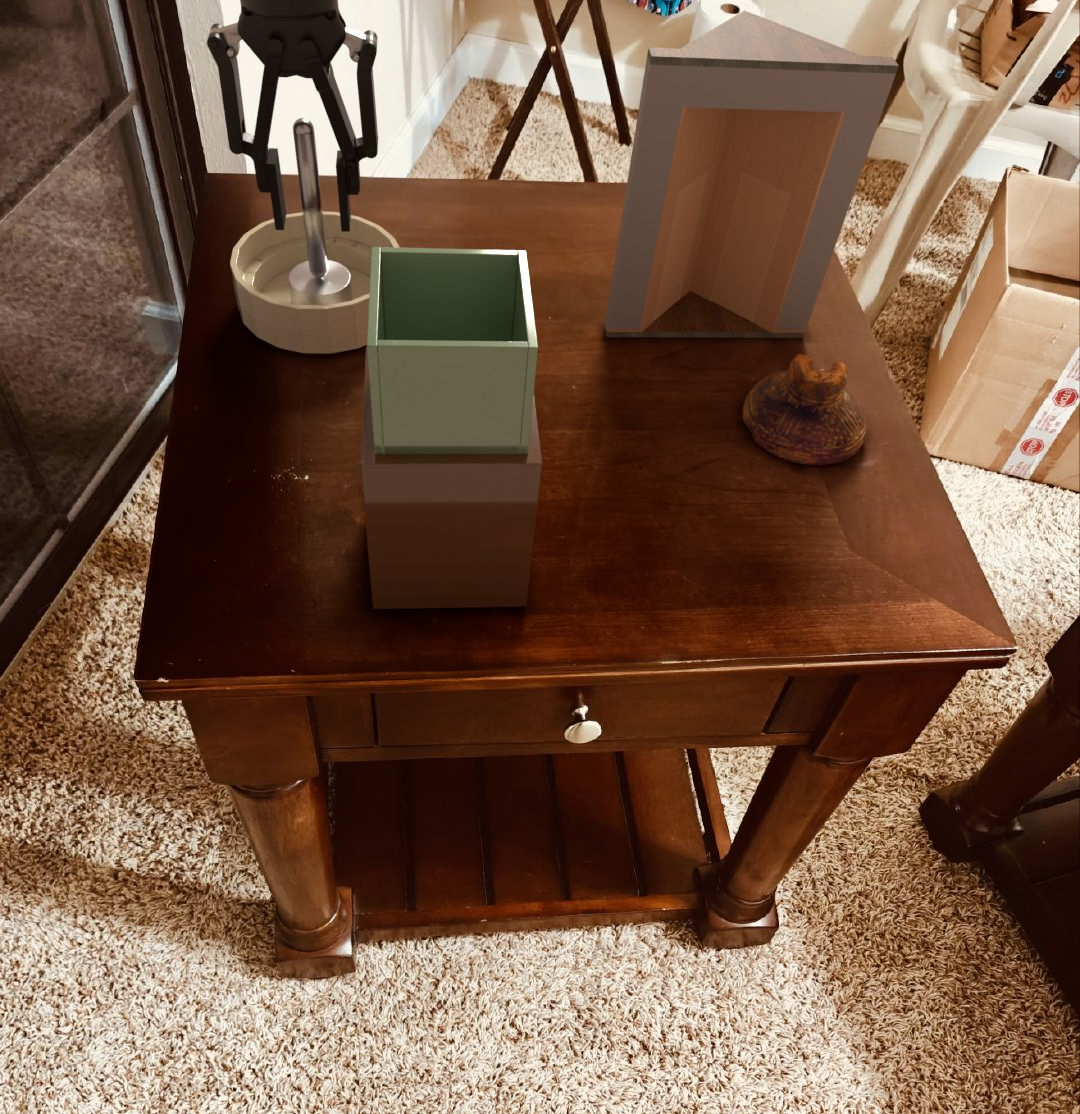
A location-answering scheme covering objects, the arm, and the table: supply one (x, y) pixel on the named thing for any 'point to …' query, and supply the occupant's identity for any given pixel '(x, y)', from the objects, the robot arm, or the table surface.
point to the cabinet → (741, 180)
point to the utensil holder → (450, 428)
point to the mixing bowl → (267, 292)
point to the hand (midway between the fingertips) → (313, 222)
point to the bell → (806, 414)
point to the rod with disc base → (314, 233)
